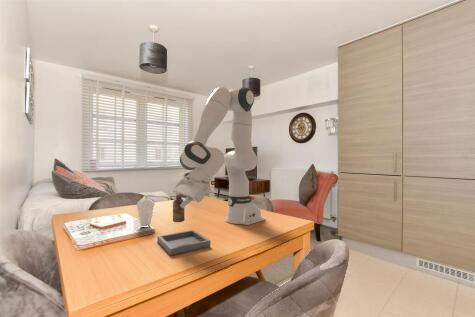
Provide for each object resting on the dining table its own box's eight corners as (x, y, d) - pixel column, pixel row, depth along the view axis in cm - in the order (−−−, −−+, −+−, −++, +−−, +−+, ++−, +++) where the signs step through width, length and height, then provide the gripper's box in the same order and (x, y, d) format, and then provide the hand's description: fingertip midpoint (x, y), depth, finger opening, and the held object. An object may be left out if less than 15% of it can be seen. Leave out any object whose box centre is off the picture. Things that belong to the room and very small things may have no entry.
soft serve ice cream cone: (148, 229, 114) (148, 196, 114) (132, 228, 115) (132, 195, 115) (157, 224, 122) (157, 193, 122) (142, 223, 124) (143, 192, 123)
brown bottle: (182, 218, 100) (182, 193, 100) (186, 221, 97) (186, 194, 96) (171, 220, 98) (171, 194, 98) (175, 222, 94) (175, 195, 94)
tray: (193, 235, 107) (193, 229, 107) (210, 246, 94) (210, 240, 94) (157, 242, 98) (157, 236, 98) (170, 256, 85) (170, 249, 85)
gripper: (216, 187, 96) (194, 215, 90) (191, 182, 112) (172, 205, 106) (206, 177, 93) (184, 205, 87) (183, 173, 109) (162, 197, 103)
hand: (177, 205), depth 97 cm, fingers closed on brown bottle, 5 cm apart
